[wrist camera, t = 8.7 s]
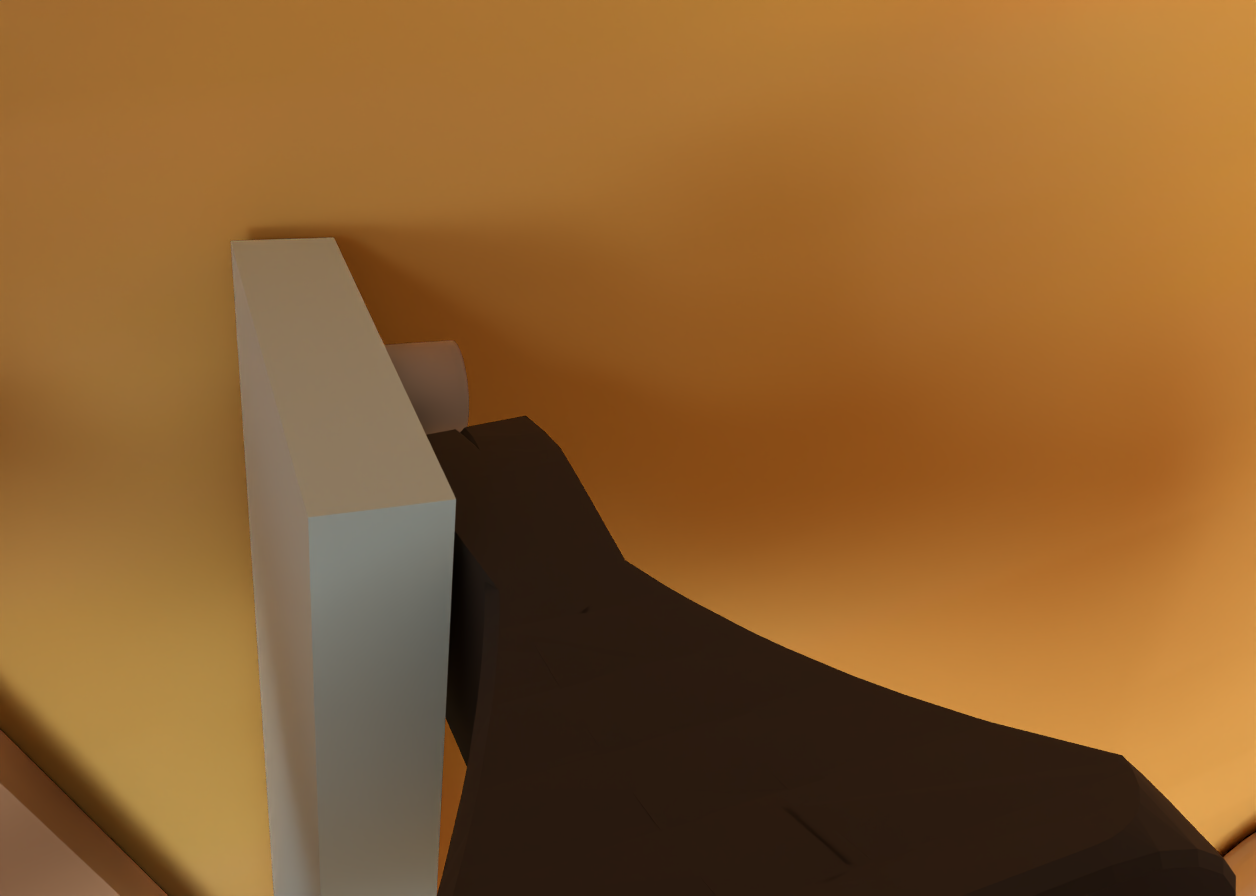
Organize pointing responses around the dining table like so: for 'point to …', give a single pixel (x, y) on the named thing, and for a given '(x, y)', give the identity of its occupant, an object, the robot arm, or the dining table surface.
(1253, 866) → the teacup
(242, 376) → the door
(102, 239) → the dining table surface
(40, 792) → the cabinet
